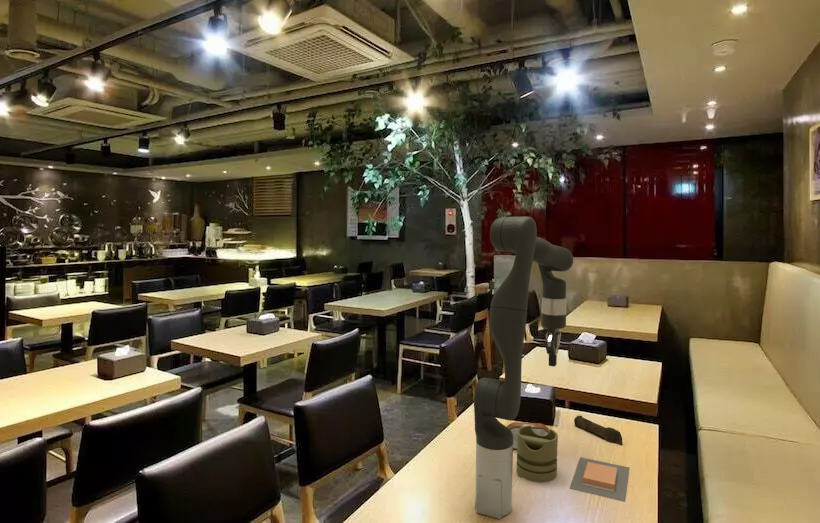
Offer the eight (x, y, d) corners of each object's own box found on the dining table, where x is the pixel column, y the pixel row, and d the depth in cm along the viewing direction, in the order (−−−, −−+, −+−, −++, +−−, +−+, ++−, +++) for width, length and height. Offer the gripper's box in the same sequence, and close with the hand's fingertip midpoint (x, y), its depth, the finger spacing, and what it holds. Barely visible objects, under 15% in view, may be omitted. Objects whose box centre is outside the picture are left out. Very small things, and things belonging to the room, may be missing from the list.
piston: (522, 422, 150) (560, 429, 145) (521, 460, 151) (559, 468, 146) (513, 437, 140) (554, 445, 135) (512, 478, 141) (553, 487, 136)
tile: (617, 474, 142) (614, 491, 133) (587, 468, 145) (582, 484, 136) (617, 467, 142) (614, 484, 133) (587, 461, 145) (583, 477, 136)
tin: (550, 448, 159) (551, 422, 159) (552, 452, 156) (552, 426, 156) (503, 446, 161) (503, 420, 160) (504, 450, 158) (504, 424, 157)
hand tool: (573, 426, 176) (573, 414, 176) (581, 424, 178) (581, 412, 177) (615, 449, 159) (616, 435, 159) (624, 446, 161) (625, 432, 160)
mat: (625, 503, 128) (625, 501, 128) (569, 490, 134) (569, 488, 134) (629, 468, 146) (629, 467, 146) (580, 458, 152) (580, 457, 152)
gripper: (562, 316, 148) (560, 373, 149) (569, 309, 159) (568, 361, 161) (536, 314, 151) (535, 369, 153) (546, 307, 163) (545, 358, 164)
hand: (552, 365), depth 157 cm, fingers closed
